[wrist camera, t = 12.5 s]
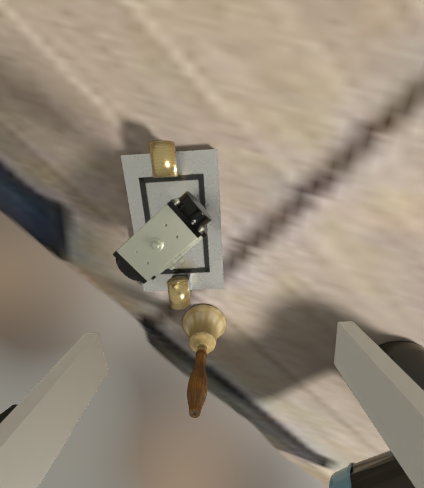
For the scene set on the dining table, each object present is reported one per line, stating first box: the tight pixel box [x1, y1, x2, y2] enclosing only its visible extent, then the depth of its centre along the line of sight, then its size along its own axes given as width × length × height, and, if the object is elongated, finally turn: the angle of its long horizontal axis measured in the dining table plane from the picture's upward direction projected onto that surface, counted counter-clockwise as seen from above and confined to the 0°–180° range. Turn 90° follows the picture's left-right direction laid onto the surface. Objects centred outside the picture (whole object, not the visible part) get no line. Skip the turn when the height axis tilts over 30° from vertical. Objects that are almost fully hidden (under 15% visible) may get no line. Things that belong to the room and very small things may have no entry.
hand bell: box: [183, 304, 226, 418], centre depth 31 cm, size 8×8×16 cm
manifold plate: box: [121, 141, 224, 310], centre depth 30 cm, size 23×14×7 cm, turn 3°
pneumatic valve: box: [113, 191, 212, 284], centre depth 26 cm, size 6×12×12 cm, turn 131°
